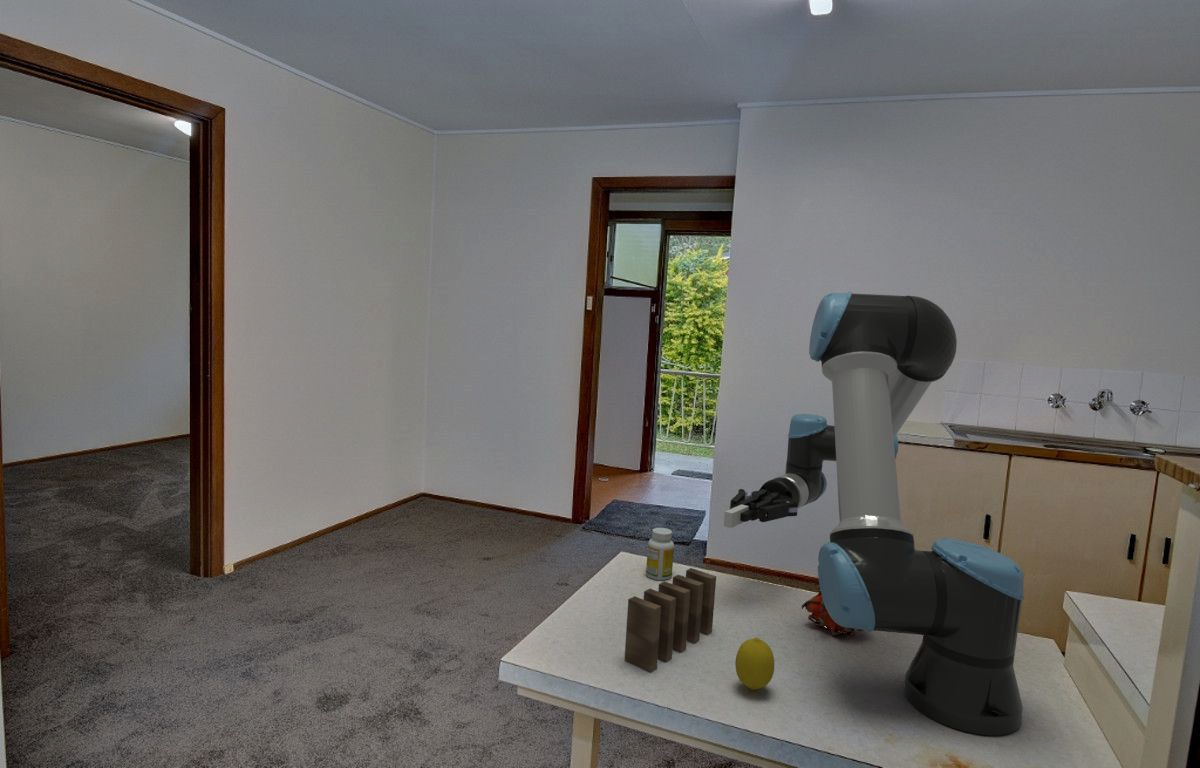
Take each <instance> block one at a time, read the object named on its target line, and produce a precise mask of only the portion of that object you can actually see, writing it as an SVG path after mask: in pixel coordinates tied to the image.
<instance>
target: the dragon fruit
mask: <svg viewBox="0 0 1200 768" xmlns="http://www.w3.org/2000/svg"><path fill="white" fill-rule="evenodd" d="M804 608H805V610H806V611H807V612H808V613H809V615H808V617H807V619H808V621H809V622H811V623H813V624H814V625H815V626H820V627H822V626H826V627H827V628H828V629H827V630H831V634H832V636H834V635H835V636H837V635H841V634H842V633H844V634H845V635H846V636H851V635H853V634H854V631H858V632H864V631H863V630H862V629H854V628H847V627H843V626H840V625H838V624H837V623H836V622H835V621H833V619H832V618H831V617H830V615H829V613H828V611H827V609H826V607H825V605H824V602H823V598H822V594H821V590H820V591H819V592H818V593H817V594H816V595H815V596H812V597H811V598H810V599H808V600H806V601H805V602H804V603H802V604H801V609H802V610H803V609H804Z"/></svg>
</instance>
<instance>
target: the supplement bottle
mask: <svg viewBox="0 0 1200 768" xmlns="http://www.w3.org/2000/svg"><path fill="white" fill-rule="evenodd" d="M672 538H673V531H672V530H671V529H670V528H666V527H655V528H653V529H652V531H651V538H650V539H649V540H648V543H647V552H646V553H647V554H646V564H645V565H646V567H645V574H646V576H647V577H648V578H649V579H652V580H654V581H666V580H669V579H671V578H672V577H673V566H674V565H673V564H674V555H675V554H674V553H675V543H674V541H673V540H671V539H672Z"/></svg>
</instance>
